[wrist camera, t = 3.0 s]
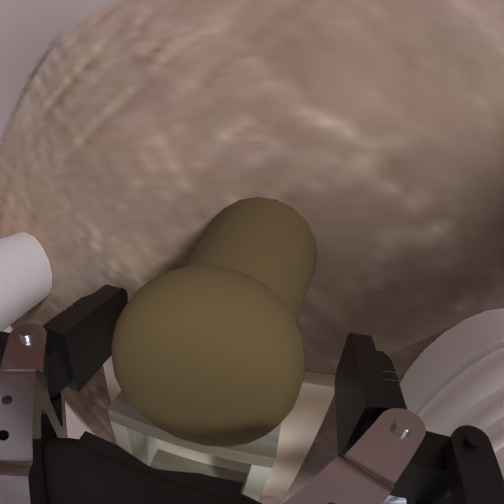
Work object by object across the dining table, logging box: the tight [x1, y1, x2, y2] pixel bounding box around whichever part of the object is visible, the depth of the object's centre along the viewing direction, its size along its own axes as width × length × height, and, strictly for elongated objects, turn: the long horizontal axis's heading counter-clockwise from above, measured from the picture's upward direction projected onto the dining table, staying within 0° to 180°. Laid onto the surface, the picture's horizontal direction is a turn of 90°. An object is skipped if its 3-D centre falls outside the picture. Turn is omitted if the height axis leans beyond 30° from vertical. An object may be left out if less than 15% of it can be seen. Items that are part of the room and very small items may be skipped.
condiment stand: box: [103, 355, 335, 501], centre depth 19 cm, size 16×16×5 cm
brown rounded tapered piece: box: [112, 197, 317, 447], centre depth 12 cm, size 6×6×11 cm
